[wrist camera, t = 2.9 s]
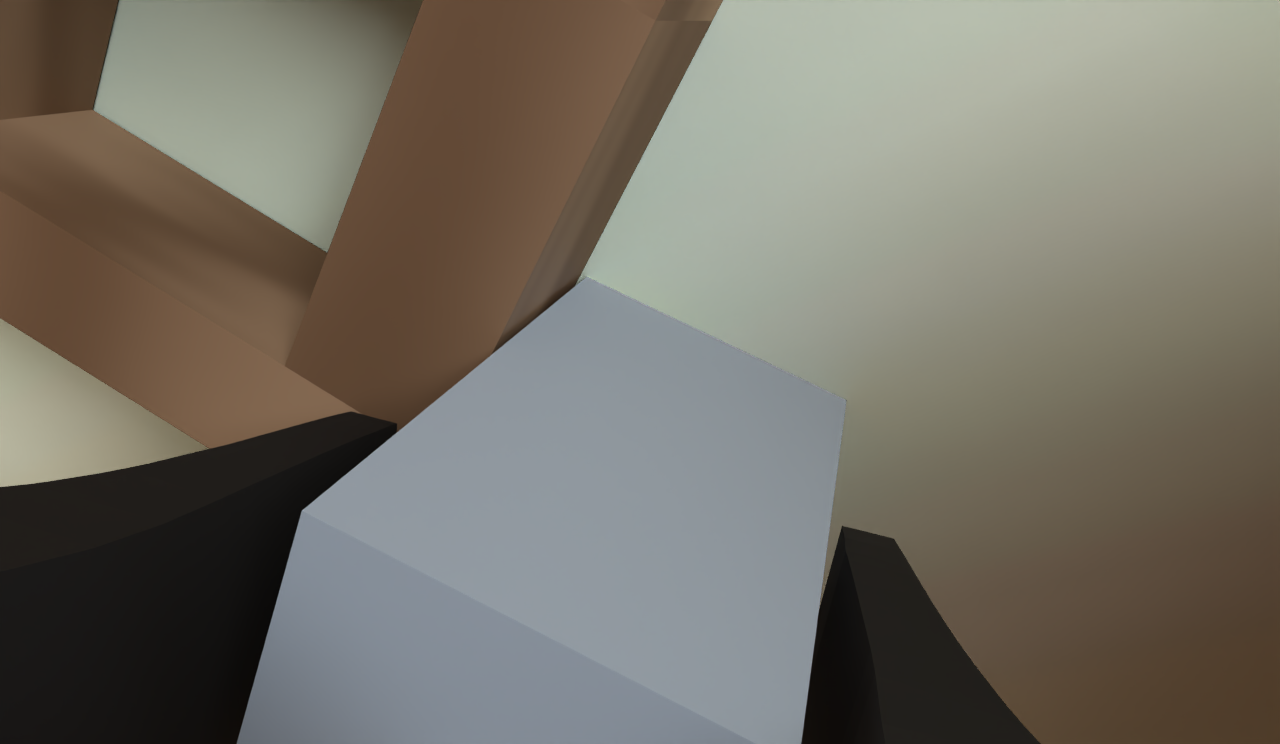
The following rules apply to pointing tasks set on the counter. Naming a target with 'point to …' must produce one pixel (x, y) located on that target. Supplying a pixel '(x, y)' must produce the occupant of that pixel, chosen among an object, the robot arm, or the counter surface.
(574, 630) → the peg
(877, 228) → the counter surface
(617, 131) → the base
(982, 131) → the counter surface
